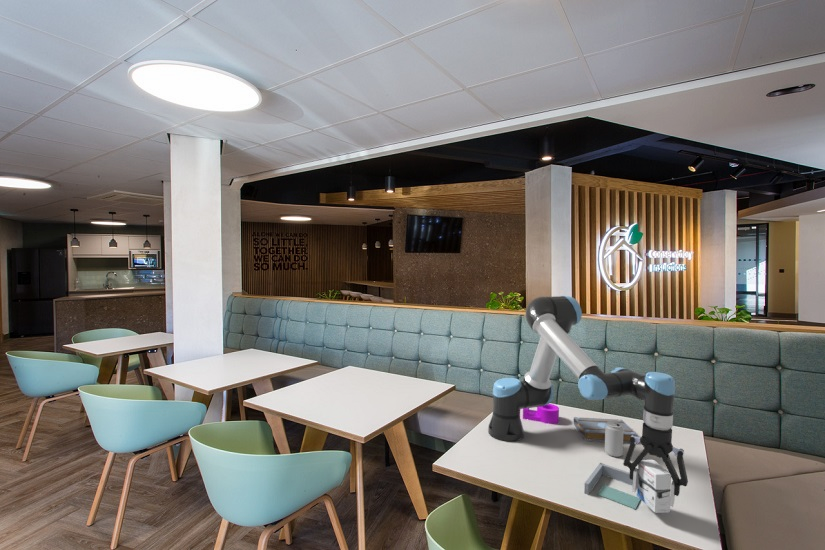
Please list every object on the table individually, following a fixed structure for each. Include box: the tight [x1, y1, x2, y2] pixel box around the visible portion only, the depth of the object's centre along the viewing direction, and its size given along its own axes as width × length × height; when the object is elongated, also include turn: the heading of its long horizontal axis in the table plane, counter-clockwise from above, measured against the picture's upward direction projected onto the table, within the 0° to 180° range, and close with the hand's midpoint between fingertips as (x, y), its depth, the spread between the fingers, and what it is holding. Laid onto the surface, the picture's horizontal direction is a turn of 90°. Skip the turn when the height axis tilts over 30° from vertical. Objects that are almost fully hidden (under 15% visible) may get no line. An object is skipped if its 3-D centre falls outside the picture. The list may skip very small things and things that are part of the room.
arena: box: [583, 462, 638, 495], centre depth 129 cm, size 16×17×4 cm
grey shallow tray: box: [572, 416, 638, 444], centre depth 172 cm, size 21×16×5 cm
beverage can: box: [604, 421, 624, 458], centre depth 154 cm, size 6×6×12 cm
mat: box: [597, 484, 641, 510], centre depth 126 cm, size 11×7×1 cm, turn 49°
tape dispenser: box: [522, 403, 560, 425], centre depth 187 cm, size 16×10×6 cm, turn 68°
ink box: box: [636, 459, 672, 514], centre depth 118 cm, size 8×5×12 cm, turn 4°
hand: (652, 496), depth 119 cm, fingers closed on ink box, 9 cm apart
